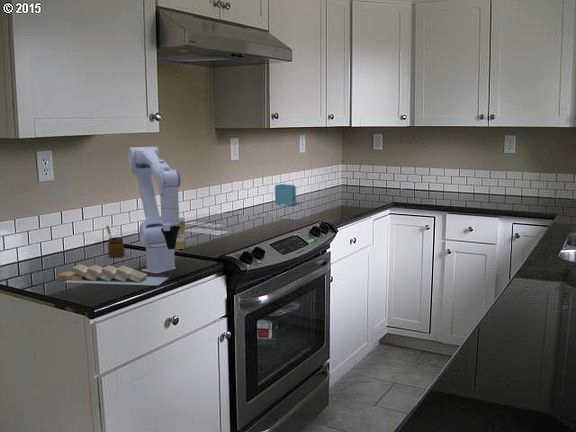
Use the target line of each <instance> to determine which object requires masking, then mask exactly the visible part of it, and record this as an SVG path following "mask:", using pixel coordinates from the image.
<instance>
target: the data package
mask: <svg viewBox="0 0 576 432" xmlns="http://www.w3.org/2000/svg"><path fill="white" fill-rule="evenodd" d="M296 189H297V188H296V185H295V184H283V183H280V184H276V185H275V186H274V204H275V205H276V204H286V205H292V206H295V205H296V203H297V196H296V193H297V190H296ZM294 204H295V205H294ZM286 205H285V206H286Z"/></svg>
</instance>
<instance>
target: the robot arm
mask: <svg viewBox="0 0 576 432" xmlns="http://www.w3.org/2000/svg"><path fill="white" fill-rule="evenodd" d="M160 157H161V155H160V150H159V148H158V146H156V145H155V146H140V147H134V146H131V147H130V148H129V149H128V152H127V159H128V164H129V169H130V172H131V174H134V176H136V177H135V178H136V180H137V185H138V189H139V193H140V198H141V202H142V208H143V213H144V216H145V219H144V220H143V221H142V222H141V223H140V225H139V228H138V229H139V240H140V242H141V244H142V245H143V246H144V247H145V258H146V268H143V269H141V271H140V272H147V273H152V274H160V273H163V272H168V271H171V270H174V269H177V267H176V266H175V247H176V240H177V235H178V232H179V230H180V226H175V225H177V224H180V220H179V216H180V209H179V207H180V203H179V188H180V187H181V183H182V182H181V181H182V180H181V174H180V172H179V170H178V169H176V168H175V169H172V168H171V167H170V166H169V164H168V163H167V162H166V161H165V160H164V159H160ZM152 175H153V176H154V177H155V178H156V183H157V189H158V194H159V196H160V197H159V199H160V212H159V208H158V207H159V206H158V204H157V203H158V202H157V197H156V194H155V190H154V184H153V180H152Z"/></svg>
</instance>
